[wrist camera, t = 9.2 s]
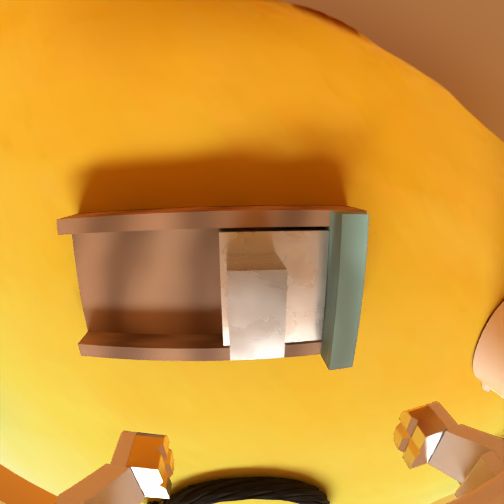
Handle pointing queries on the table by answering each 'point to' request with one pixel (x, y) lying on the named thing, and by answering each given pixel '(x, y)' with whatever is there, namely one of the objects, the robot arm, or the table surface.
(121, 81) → the table surface
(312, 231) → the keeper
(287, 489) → the cable lock
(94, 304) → the drawer
